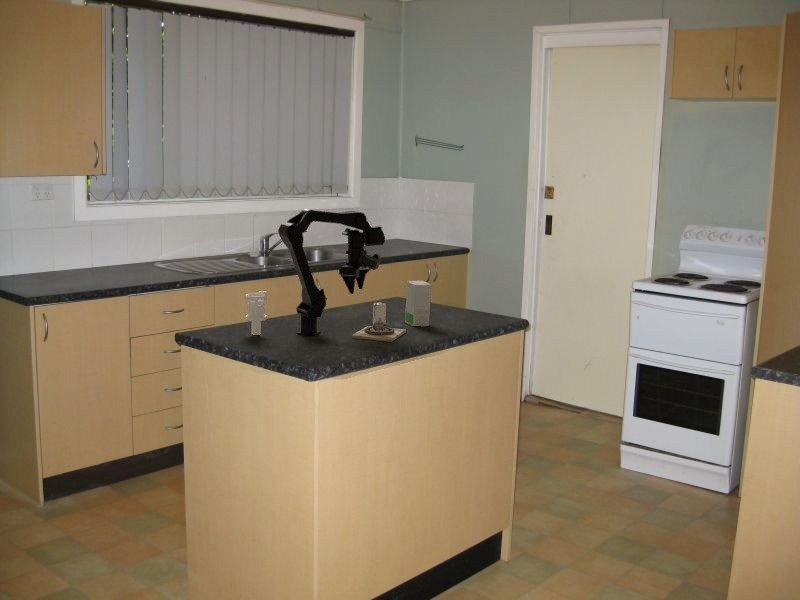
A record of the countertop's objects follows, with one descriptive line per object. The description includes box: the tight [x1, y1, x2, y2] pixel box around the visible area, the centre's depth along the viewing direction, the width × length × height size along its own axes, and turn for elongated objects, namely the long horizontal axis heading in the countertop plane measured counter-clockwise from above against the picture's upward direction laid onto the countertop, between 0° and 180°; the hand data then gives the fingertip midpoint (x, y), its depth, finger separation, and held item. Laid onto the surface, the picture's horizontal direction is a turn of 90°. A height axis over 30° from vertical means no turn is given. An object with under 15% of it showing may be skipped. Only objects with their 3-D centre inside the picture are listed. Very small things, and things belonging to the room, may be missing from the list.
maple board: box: [351, 325, 407, 343], centre depth 308 cm, size 16×14×2 cm
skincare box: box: [404, 280, 432, 327], centre depth 326 cm, size 8×7×16 cm
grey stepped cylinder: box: [244, 290, 268, 336], centre depth 302 cm, size 7×7×15 cm
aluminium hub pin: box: [370, 301, 388, 332], centre depth 307 cm, size 6×6×10 cm
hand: (356, 291), depth 315 cm, fingers open, 9 cm apart
